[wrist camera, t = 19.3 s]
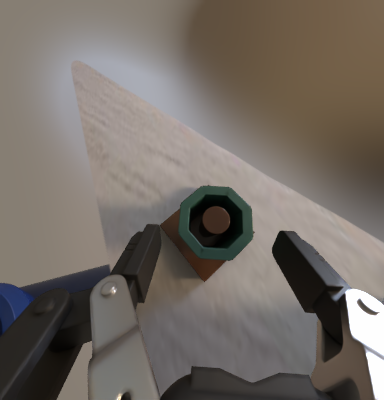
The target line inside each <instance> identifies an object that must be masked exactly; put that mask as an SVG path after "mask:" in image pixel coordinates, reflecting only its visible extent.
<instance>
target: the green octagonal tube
mask: <svg viewBox="0 0 384 400" xmlns="http://www.w3.org/2000/svg"><path fill="white" fill-rule="evenodd" d="M214 206H217V207H221V208H223V209H224V210H226V211H227V213H228V214H229V217H230V225H229V227H228V229H227V230H226V231H225V232H223V233H222V238H221V239H220V240H219V241H218V242H217V243H215V244H214V245H213V246H203V245H201V244H200V243H199V242H198V240H197V239H196V238H195V237H194V236H193V235H192V233H191V221H192V220H194V219H195V218H196V217H197V216H198V215H199V214H200V213H204V212H205V211H206V210H207V209H208V208H210V207H214ZM178 233H179V236H180V237H181V238H182V239H183V240H184V242H185V243H186V244H187V245H188V246H189V248H190V249H191V250H192V251H193V252H194V254H195V255H196V256H197V257H199V258H200V259H211V260H226V261H230V260H233V259H234V258H235V257H236V256H237V255H238V254H239V253H240V252H241V251H242V250H243V249H244V248H245V247H246V246H247V244H248V243H249V242H250V241H251V240H252V239H253V222H252V209H251V207H250V206H249V205H248V204H247V203H246V202H245V201H244V200H243V199H242V198H241V197H240V196H239V195H238V194H237V193H236V192H235V191H234V190H233V189H232V188H230V187H218V186H203V187H202V186H201V187H200V188H199V189H197V190H196V191H195V192H194V193H193V194H191V195H190V196H189V197H188V198H187V199H185V200H184V201H183V202H182V203H181V205H180V214H179V226H178Z"/></svg>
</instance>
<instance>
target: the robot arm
mask: <svg viewBox="0 0 384 400" xmlns="http://www.w3.org/2000/svg"><path fill="white" fill-rule="evenodd" d="M160 249H161V235H160V226H159V225H157V224H147V225H146V227H145V229H144V231H143V232H140V231H139V232H137V233H136V234H135V235H134V236H133V237H132V238H131V240H130V241H129V243H128V245H127V246H126V248H125V251H124V252H123V253H122V255H121V257H120V258H119V260H118V262H117V263H116V265H115V267H114V268H113V270H112V272H111V273H110V275H109V276H108V277H106V278H104V279H102V280H101V281H100V282H99V283H98V284H97V285H96V286H95V287H93V288H90V289H87V290H83V291H79V292H75V293H71V294H69V293H68V292H67V290H65V289H63V288H56V289H53V290H50V291H47V292H45V293H43V294H42V295H40V296H39V297H37V298H36V299H35V300H33V301H32V302H31V303H30V304H29V305H28V306H27V307H26V308H25V309H24V311H23V312H22V313H21V314H20V315H19V316H18V317H17V318H16V320H15V321H14V322H13V323H12V324H11V325H10V326H9V327H8V329H7V330H6V331H5V332H4V333H3V334H2V322H1V319H0V400H56V399H57V397H58V395H59V393H60V391H61V389H62V387H63V385H64V383H65V381H66V379H67V376H68V375H69V372H70V370H71V368H72V366H73V364H74V362H75V360H76V358H77V356H78V354H79V352H80V350H81V347H82V345H83V344H84V343H87V342H90V341H92V347H93V353H92V358H91V359H90V361H89V365H88V400H384V305H383V304H382V303H381V302H379V301H378V300H377V299H375V298H374V297H372V296H370V295H369V294H367V293H365V292H362V291H360V290H356V289H352V288H351V287H350V286H349V285H348V284H347V283H346V282H345V281H344V280H343V279H342V278H341V277H340V275H339V274H338V273H337V272H336V271H335V270H334V269H333V268H332V267H331V266H330V265H329V264H328V263H327V262H326V261H325V259H324V258H323V257H322V256H321V255H319V253H318V252H317V251H316V250H315V249H314V248H313V247H312V246H311V245H310V244H308V243H307V242H306V241H304V240H302V239H301V238H300V237H299V236H298V235H297V233H296V232H294V231H280V232H279V233H278V235H277V238H276V240H275V242H274V245H273V247H272V254H273V257H274V258H275V260H276V262H277V264H278V265H279V267H280V269H281V271H282V273H283V274H284V276H285V278H286V280H287V281H288V283H289V285H290V287H291V288H292V290H293V292H294V294H295V296H296V297H297V299H298V301H299V303H300V304H301V306H302V308H303V310H304V311H305V312H306V313H316V315H317V317H318V318H319V320H318V322H317V350H316V365H315V368H314V370H313V373H312V375H311V379H310V377H309V375H301V374H288V373H278V374H275V375H273V376H270V377H268V378H265V379H262V380H260V381H257V382H254V383H251V382H248V381H246V380H244V379H242V378H239V377H237V376H235V375H233V374H231V373H229V372H227V371H224V370H222V369H220V368H208V367H194V366H192V368H191V374H188V375H186V376H184V377H182V378H180V379H178V380H177V381H176V382H175V383H173V384H172V385H171V386H170V387H169V388H168V389H167V390H166V391H165V392H164V394H163V395H162V396H160V393H159V389H158V386H157V382H156V379H155V375H154V372H153V369H152V365H151V362H150V359H149V355H148V352H147V349H146V345H145V342H144V338H143V335H142V331H141V328H140V325H139V321H138V318H137V314H136V311H135V309H136V306H137V303H144V302H145V298H146V295H147V292H148V288H149V285H150V282H151V279H152V275H153V272H154V269H155V266H156V262H157V259H158V256H159V253H160Z"/></svg>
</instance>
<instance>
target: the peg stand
mask: <svg viewBox="0 0 384 400" xmlns="http://www.w3.org/2000/svg"><path fill="white" fill-rule="evenodd" d="M208 186H209V185H208ZM179 214H180V209H179V210H178V211H177V212H175V213H174V214H173V215H172V216H170V217H169V218H168V219H167V220H166V221H164V222H163V223H162V224H161V225H160V226H161V228H162V229H163V230H164V231H165V233H166V234H167V235H168V237H169V238H170V239H171V240H172V242H173V243H174V244H175V245H176V247H177V248H178V249H179V251H180V252H181V253H182V254H183V256H184V257H185V258H186V259H187V261H188V262H189V263H190V265H191V266H192V267H193V268H194V270H195V271H196V272H197V273H198V275H199V276H200V277H201V278H202V280H203V281H204V282H205V281H206V280H207V279H208V278H209V277H210V276H211V275H212V274H213V273H214V272H215V271H216V270H217V269H218V268H219V267H220V266H221V265H222V264H223V263H224V262H225V261H226V260H211V259H200V258H199V257H197V256H196V255H195V254H194V252H193V251H192V250H191V249H190V248H189V246H188V245H187V244H186V243H185V242H184V240H183V239H182V238H181V237H180V236H179V233H178V226H179ZM229 225H230V217H229V214H228V213H227V211H226V210H224V209H223V208H221V207H217V206H214V207H210V208H208V209H207V210H206V211H205V212H204V213H200V214H199V215H198V216H197V217H196V218H195V219H194V220H192V221H191V233H192V235H193V236H194V237H195V238H196V239H197V240H198V242H199V243H200V244H201V245H203V246H213V245H214V244H215V243H217V242H218V241H219V240H220V239H221V238H222V233H223V232H225V231H226V230H227V229H228V227H229ZM254 233H255V232H254V231H253V234H254Z"/></svg>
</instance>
